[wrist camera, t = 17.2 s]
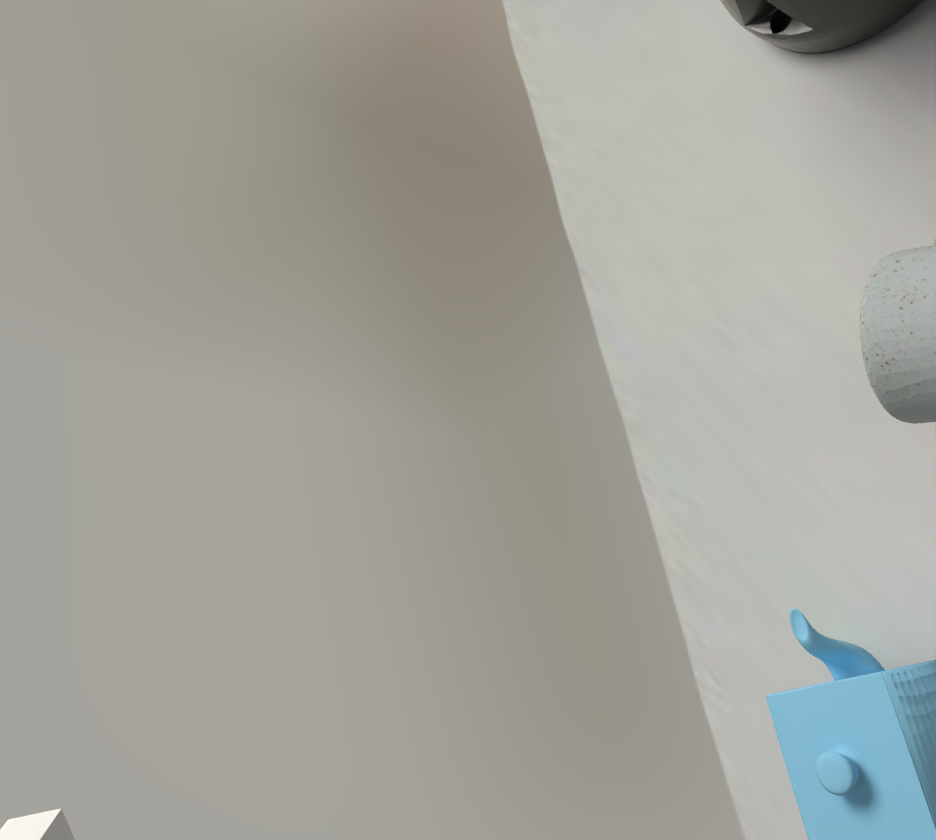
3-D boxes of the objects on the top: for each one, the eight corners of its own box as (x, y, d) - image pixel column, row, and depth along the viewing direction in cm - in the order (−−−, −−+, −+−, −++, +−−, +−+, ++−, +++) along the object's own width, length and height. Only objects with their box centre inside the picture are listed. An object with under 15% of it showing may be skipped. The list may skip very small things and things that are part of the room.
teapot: (820, 613, 46) (728, 625, 42) (929, 583, 42) (839, 592, 37) (904, 865, 42) (811, 907, 37) (1035, 861, 37) (947, 909, 33)
